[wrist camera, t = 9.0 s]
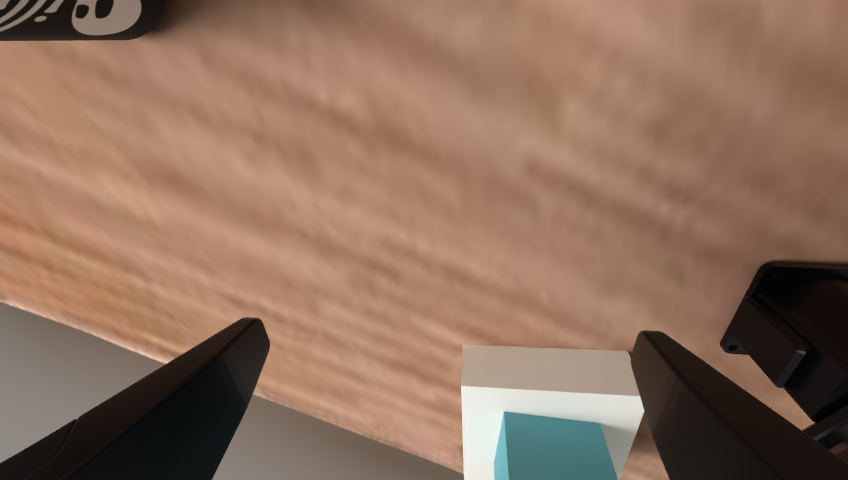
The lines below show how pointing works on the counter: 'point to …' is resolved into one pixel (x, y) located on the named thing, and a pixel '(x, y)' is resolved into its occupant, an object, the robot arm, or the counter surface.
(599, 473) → the teal cube
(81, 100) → the counter surface
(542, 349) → the off-white block
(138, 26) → the beverage can
